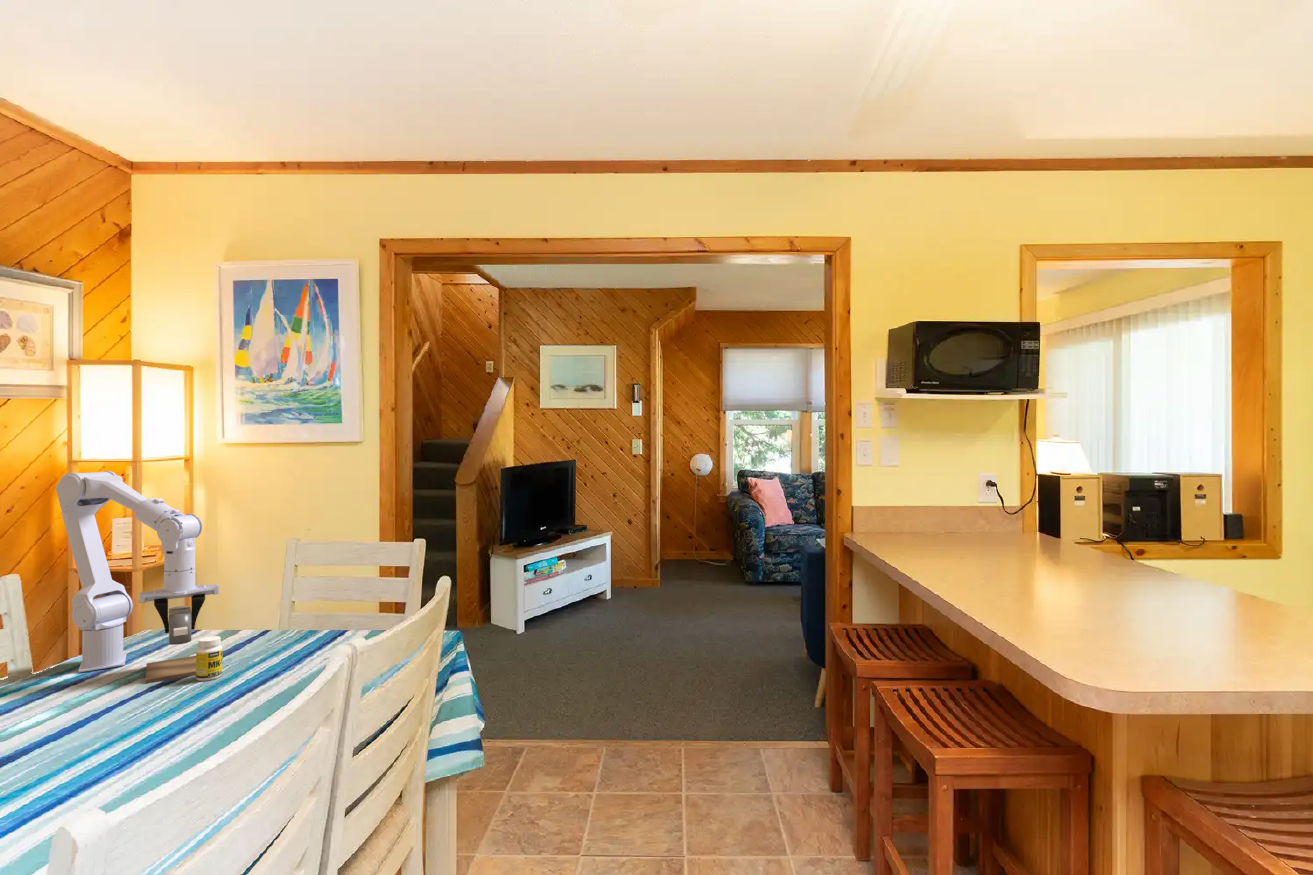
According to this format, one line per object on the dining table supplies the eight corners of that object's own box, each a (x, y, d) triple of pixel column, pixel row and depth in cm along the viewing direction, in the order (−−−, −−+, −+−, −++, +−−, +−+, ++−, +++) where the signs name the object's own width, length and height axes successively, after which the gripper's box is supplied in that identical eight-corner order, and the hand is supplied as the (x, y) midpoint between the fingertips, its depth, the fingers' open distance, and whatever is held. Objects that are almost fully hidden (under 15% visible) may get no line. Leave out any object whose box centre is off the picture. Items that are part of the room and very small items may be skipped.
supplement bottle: (209, 682, 142) (209, 642, 142) (190, 680, 143) (190, 641, 143) (227, 674, 146) (227, 635, 146) (209, 672, 147) (209, 634, 147)
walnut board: (146, 666, 151) (146, 663, 151) (210, 656, 158) (210, 653, 158) (145, 683, 141) (145, 679, 141) (213, 671, 148) (213, 668, 148)
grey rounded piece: (168, 633, 153) (168, 607, 153) (190, 630, 155) (190, 605, 155) (169, 648, 142) (169, 619, 142) (192, 644, 145) (192, 616, 145)
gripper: (138, 576, 142) (138, 640, 142) (219, 568, 151) (219, 628, 151) (139, 571, 148) (139, 632, 148) (217, 563, 156) (217, 622, 156)
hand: (179, 630), depth 150 cm, fingers closed on grey rounded piece, 4 cm apart
